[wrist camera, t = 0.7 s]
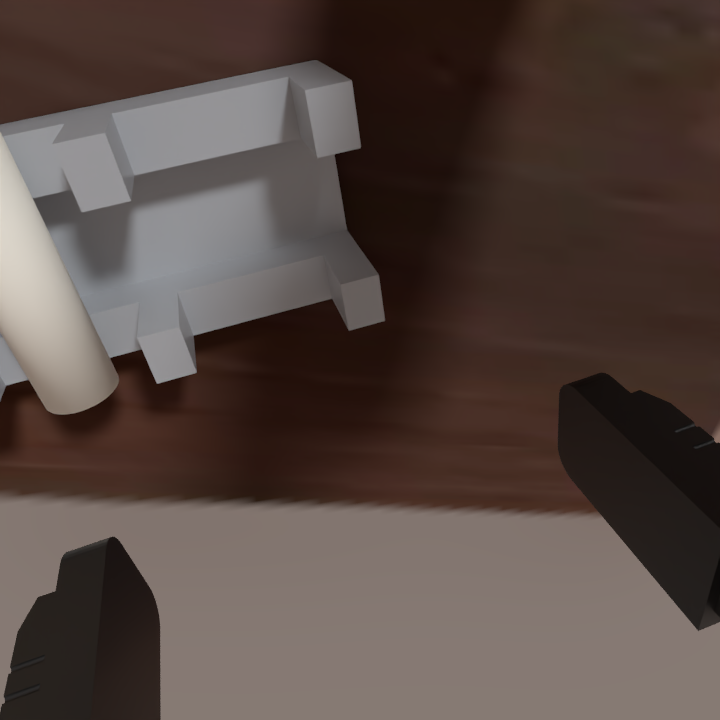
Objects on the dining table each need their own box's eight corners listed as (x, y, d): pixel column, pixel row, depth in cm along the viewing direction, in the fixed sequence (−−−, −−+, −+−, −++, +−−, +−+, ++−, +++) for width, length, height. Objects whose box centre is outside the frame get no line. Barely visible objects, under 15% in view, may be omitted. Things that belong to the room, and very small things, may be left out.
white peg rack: (-422, 191, 20) (-652, 279, 14) (313, 43, 23) (361, 66, 18) (-211, 414, 26) (-316, 539, 20) (351, 267, 29) (396, 338, 24)
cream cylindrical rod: (-85, 144, 20) (-119, 168, 17) (9, 124, 20) (-11, 146, 18) (50, 379, 25) (38, 423, 23) (120, 361, 26) (116, 401, 23)
